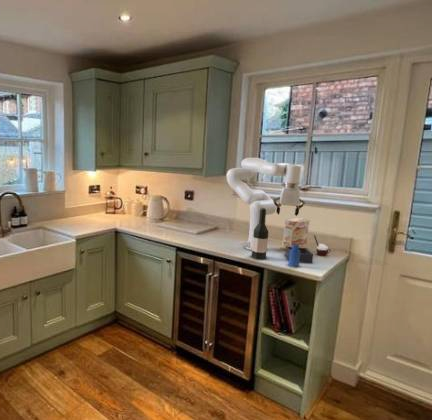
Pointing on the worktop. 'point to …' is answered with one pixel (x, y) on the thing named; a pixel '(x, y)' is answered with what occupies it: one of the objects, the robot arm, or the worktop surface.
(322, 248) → the cocoa
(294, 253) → the bottle
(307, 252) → the dark grey tray
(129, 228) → the worktop surface
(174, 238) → the worktop surface
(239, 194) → the robot arm
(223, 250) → the worktop surface
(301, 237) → the coffeecake box
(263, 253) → the wine bottle
